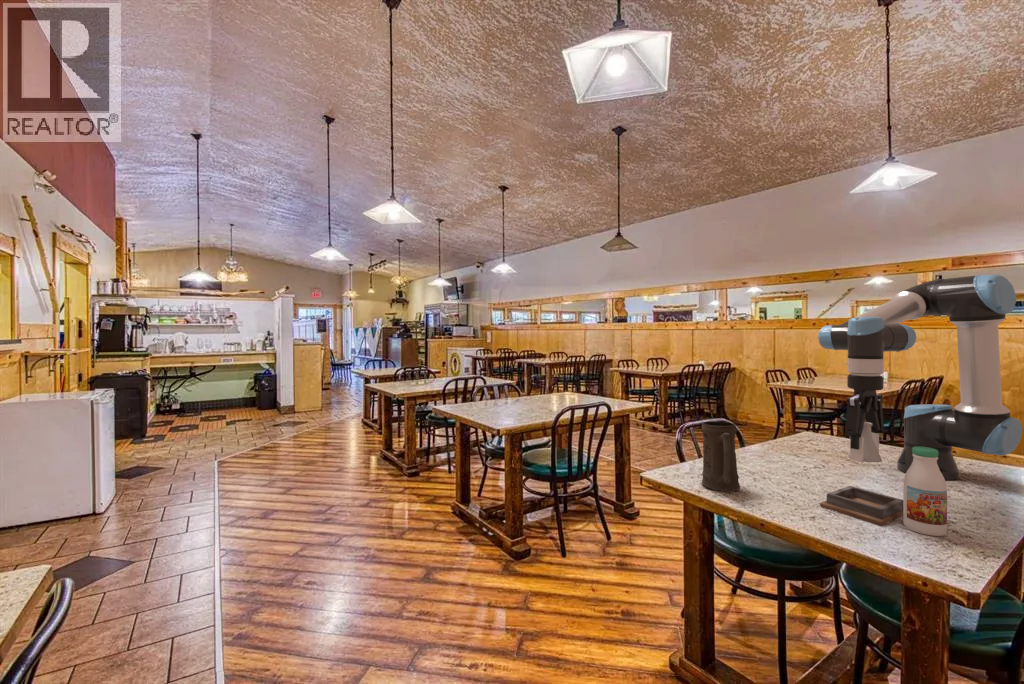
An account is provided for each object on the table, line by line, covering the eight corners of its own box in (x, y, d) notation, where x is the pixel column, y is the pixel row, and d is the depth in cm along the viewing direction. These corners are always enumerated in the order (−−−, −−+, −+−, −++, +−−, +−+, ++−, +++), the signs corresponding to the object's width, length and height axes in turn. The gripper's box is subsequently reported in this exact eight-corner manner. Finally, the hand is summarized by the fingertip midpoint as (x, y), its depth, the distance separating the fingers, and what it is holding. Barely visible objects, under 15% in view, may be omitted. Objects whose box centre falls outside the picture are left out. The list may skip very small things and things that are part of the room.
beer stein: (695, 480, 143) (695, 419, 142) (728, 480, 142) (728, 419, 142) (716, 498, 127) (715, 430, 127) (753, 498, 127) (753, 430, 126)
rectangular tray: (850, 495, 128) (850, 483, 128) (911, 513, 115) (911, 499, 115) (819, 506, 120) (819, 494, 120) (881, 526, 108) (881, 512, 108)
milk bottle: (894, 523, 109) (895, 444, 109) (922, 522, 110) (923, 443, 109) (926, 538, 101) (927, 453, 101) (956, 536, 102) (957, 452, 102)
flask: (888, 464, 113) (888, 425, 113) (857, 462, 115) (857, 425, 114) (871, 456, 120) (871, 420, 120) (842, 455, 122) (842, 419, 121)
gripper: (867, 371, 125) (867, 450, 125) (828, 375, 115) (828, 460, 116) (900, 373, 118) (899, 456, 119) (861, 377, 109) (861, 468, 109)
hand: (864, 458), depth 117 cm, fingers closed on flask, 8 cm apart
